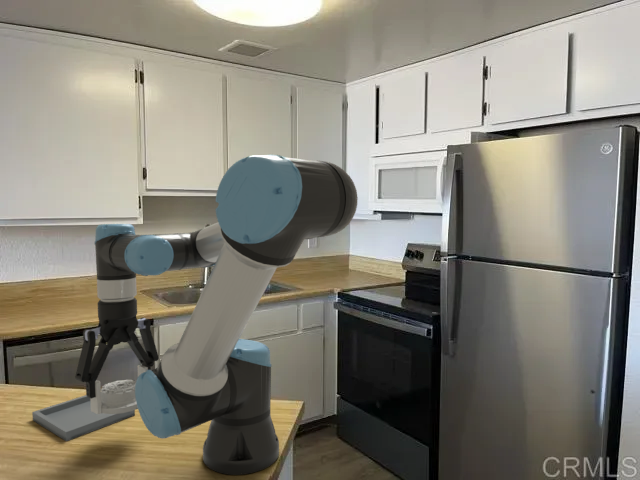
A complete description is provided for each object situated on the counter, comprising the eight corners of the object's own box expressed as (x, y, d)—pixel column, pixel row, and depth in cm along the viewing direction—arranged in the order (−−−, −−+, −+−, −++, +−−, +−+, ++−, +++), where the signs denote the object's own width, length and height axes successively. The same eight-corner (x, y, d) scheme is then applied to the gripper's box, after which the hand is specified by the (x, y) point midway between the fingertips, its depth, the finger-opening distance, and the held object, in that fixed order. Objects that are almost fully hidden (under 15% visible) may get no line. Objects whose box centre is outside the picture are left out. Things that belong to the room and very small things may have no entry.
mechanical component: (84, 413, 97) (128, 417, 95) (83, 392, 97) (128, 395, 95) (114, 394, 107) (155, 398, 105) (113, 375, 107) (155, 378, 105)
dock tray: (134, 415, 115) (134, 407, 115) (66, 441, 102) (65, 432, 102) (99, 398, 125) (99, 390, 124) (32, 420, 112) (32, 411, 112)
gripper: (154, 289, 111) (156, 384, 113) (52, 305, 93) (56, 417, 95) (174, 292, 107) (176, 391, 108) (71, 309, 89) (75, 427, 90)
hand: (120, 403), depth 101 cm, fingers closed on mechanical component, 10 cm apart
